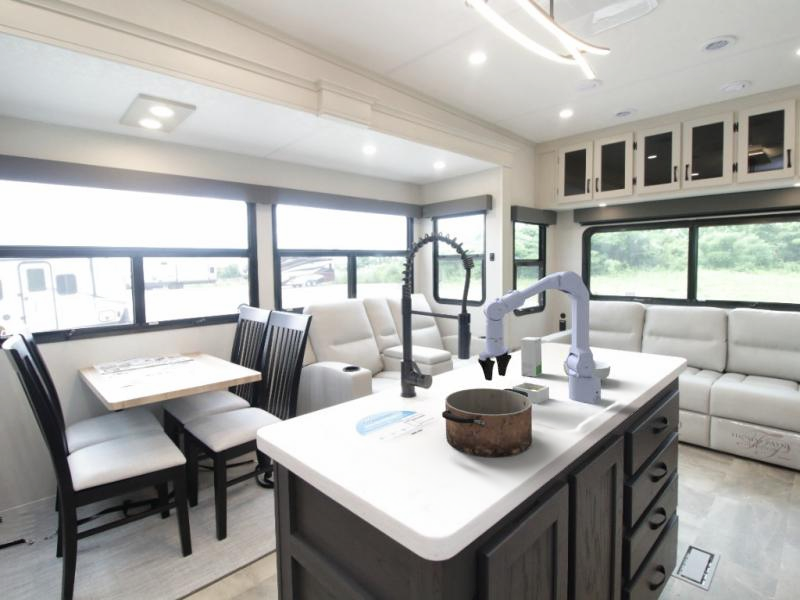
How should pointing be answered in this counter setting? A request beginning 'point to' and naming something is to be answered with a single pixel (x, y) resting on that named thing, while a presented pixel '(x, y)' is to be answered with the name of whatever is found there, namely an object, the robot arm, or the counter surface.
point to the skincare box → (531, 356)
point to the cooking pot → (489, 421)
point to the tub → (534, 395)
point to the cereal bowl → (600, 371)
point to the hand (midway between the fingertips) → (495, 377)
